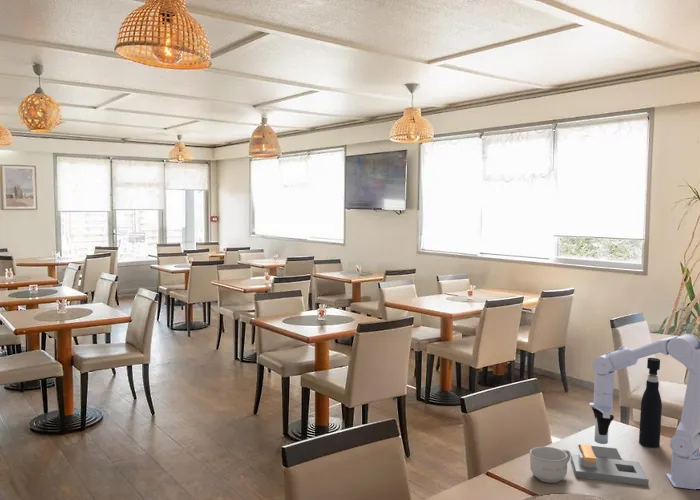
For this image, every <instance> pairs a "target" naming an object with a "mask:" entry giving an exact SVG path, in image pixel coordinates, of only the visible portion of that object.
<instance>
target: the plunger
mask: <svg viewBox="0 0 700 500" xmlns="http://www.w3.org/2000/svg"><path fill="white" fill-rule="evenodd" d="M591 446H592V445H591V444H584V443H580V448H581V451H582V454H583V457H584V460H585V461H589V462H596V458H595V455H594V453H593V450H592V448H591ZM580 448H579V449H580ZM581 451H580V452H581Z"/></svg>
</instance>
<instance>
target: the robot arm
mask: <svg viewBox="0 0 700 500" xmlns="http://www.w3.org/2000/svg"><path fill="white" fill-rule="evenodd" d="M660 353H661V354H663V355H664V356H668V355H670V356H671V357H672V358H673V359H675V360H676V361H678V362H679V363H680V364H682V365H684V367H685V368H686V370H688V371H689V373H688V379H687V385H686V389H685V394H684V401H683V405H682V411H681V416H680V421H679V424H678V426H677V427H676V430H675V434H674V436H672V438H671V439H670V441H669V445H670V448H671V452H672V453H671V468H670V469H671V470H670V473H666V475H665V476H666V477H667V479H668V480H669V481H670V483H671V485H672V486H673V487H674V488H678V489H679V488H680V489H681V488H682V489H687V490H688V489H689V490H696V489H700V339H699V338H698V337H697V336H696V335H694V334H692V333H684V334H681V335H680V336H679V335H675V336H670V337H665V338H662V339H659V340H656V341H653V342H650V343H648V344H645V345H643V346H640V347H636V348H631V347H629V346H626V347H625V345H624V346H620V347H618V349H617V350H615V351H612V352H610V351H607V352H605V354H602V355H600V356H597V357H596V358H594V359H593V361H592V363H591V364H592V365H591V366H592V369H593V371H594V381H593V382H594V383H593V386H594V387H593V402H589V406H590V407H591V410H592V412H593V416H594V420H595V419H597V423H598V431H599V435H607V432H608V433H609V428H610V425H611V423H612V422H613V420H614V418H615V416H614V415H613V414H611V412H612V410H613V409H614V405H613V401H614V400H613V398H614V381H615V380H614V379H615V378H614V377H615V371H619V370H621V369H625V368H628V367H631V366H635V365H636V364H637V362H638V361H639V359H642V358H646V357H649V356H652V355H656V354H660Z"/></svg>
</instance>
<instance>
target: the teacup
mask: <svg viewBox="0 0 700 500" xmlns="http://www.w3.org/2000/svg"><path fill="white" fill-rule="evenodd" d="M529 458H530V459H529V461H530V470H531V473H532V474H533V476H535V477H536V478H537V480H539V481H541V482H543V483H550V484H551V483H554V484H555V483H558V482H560V481H562V480H563V479H564V478H565V477H566V476H567V473H568V463H569V461H571V451H569V449H566V448H564V449H560V448H556V447H554V446H553V447H552V446H537V447H533V448H530V450H529Z"/></svg>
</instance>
